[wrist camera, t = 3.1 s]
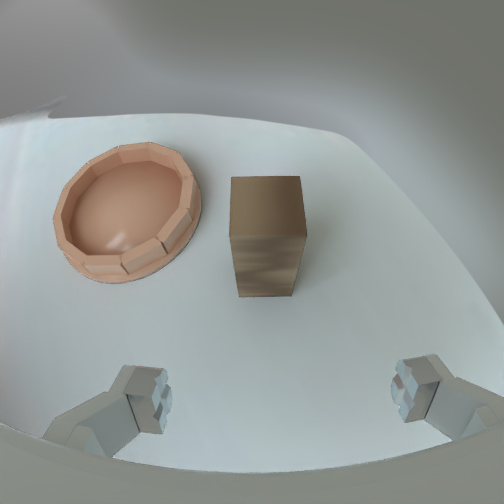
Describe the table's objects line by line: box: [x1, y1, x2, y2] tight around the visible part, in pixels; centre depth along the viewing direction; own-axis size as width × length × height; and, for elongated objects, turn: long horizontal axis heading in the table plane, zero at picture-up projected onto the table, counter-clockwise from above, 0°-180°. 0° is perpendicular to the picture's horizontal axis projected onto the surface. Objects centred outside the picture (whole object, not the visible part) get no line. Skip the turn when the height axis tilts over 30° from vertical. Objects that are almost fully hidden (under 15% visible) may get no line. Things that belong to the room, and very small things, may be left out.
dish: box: [53, 142, 202, 284], centre depth 30 cm, size 16×16×3 cm
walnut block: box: [229, 176, 307, 297], centre depth 23 cm, size 4×4×10 cm
